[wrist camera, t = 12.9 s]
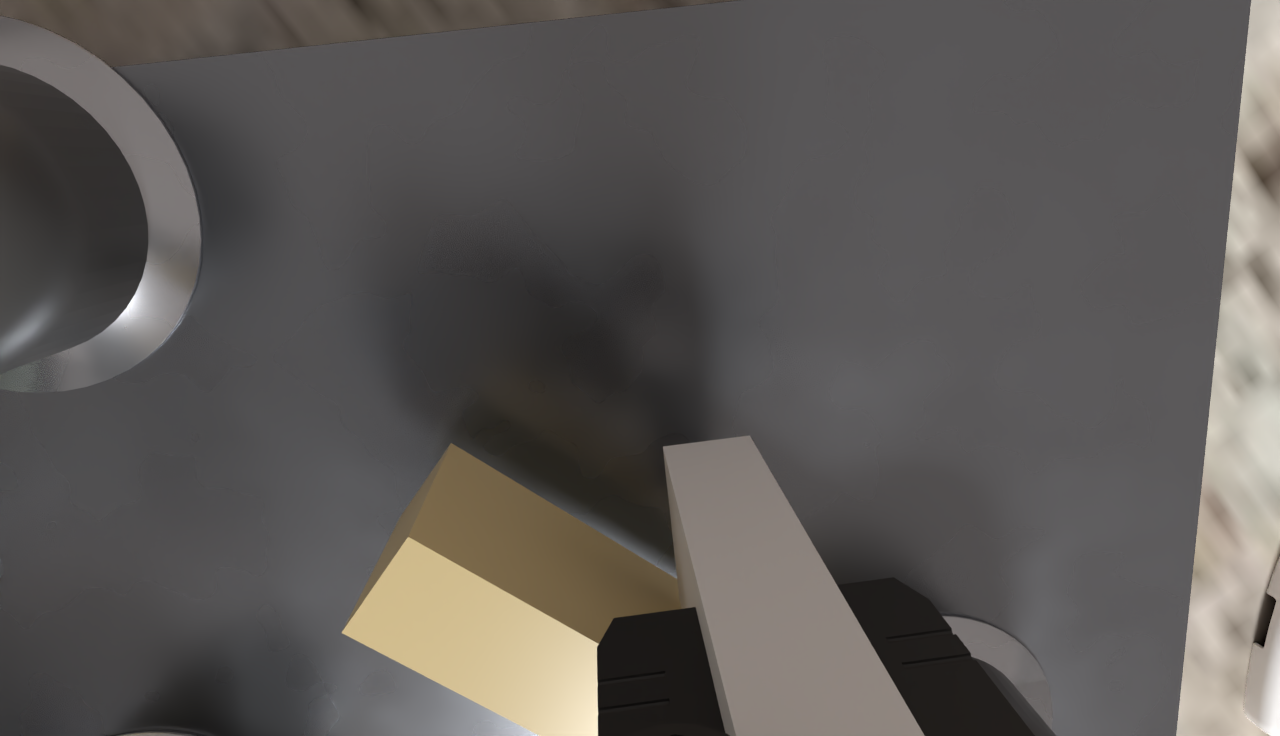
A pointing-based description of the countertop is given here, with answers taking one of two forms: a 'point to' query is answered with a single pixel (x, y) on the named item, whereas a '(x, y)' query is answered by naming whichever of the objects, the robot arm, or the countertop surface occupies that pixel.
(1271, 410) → the countertop surface
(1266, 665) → the soap
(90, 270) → the knob
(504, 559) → the knob
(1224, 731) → the countertop surface
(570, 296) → the dark grey knob panel
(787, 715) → the robot arm
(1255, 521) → the countertop surface
